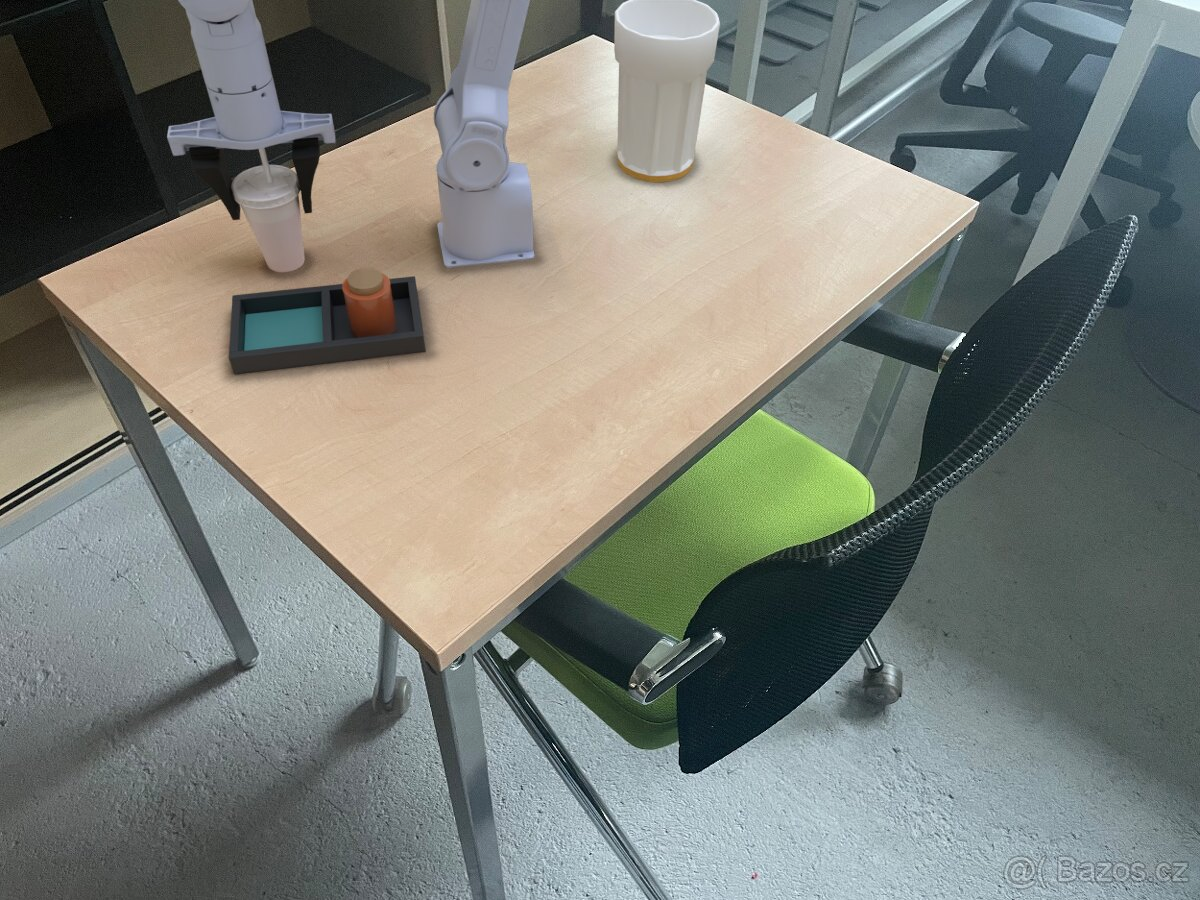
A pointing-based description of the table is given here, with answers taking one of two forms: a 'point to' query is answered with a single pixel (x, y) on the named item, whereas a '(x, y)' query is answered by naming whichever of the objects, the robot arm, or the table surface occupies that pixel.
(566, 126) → the table surface
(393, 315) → the spice pot
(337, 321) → the holder
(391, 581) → the table surface
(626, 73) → the cup
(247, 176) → the smoothie
